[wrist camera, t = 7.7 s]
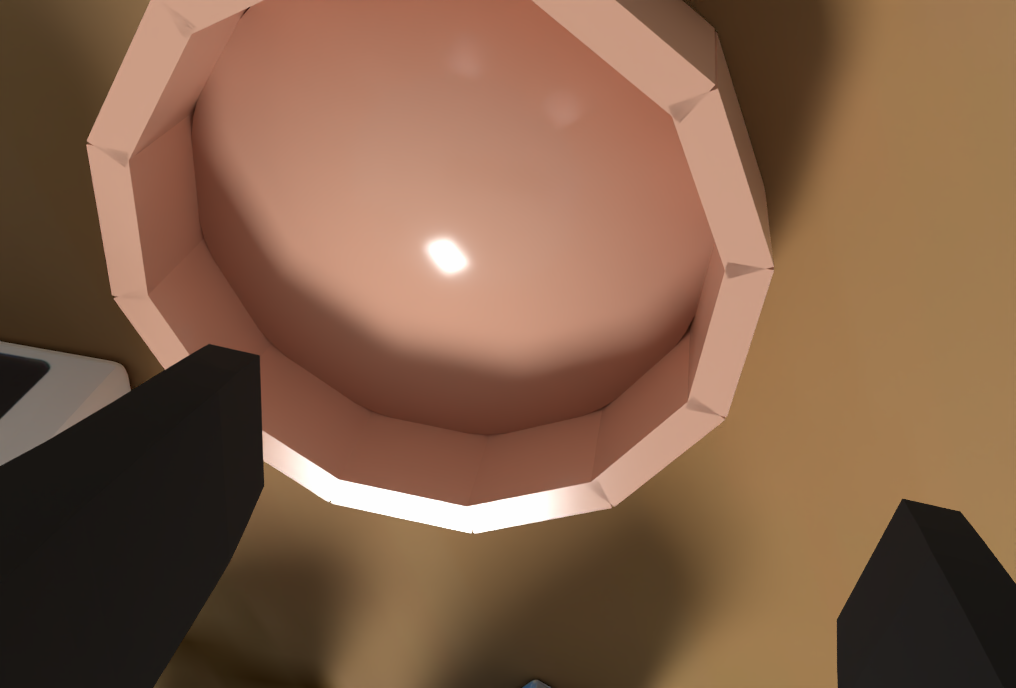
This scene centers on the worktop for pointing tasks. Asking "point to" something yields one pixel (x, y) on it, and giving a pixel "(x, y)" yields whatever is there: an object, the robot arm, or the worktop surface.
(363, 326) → the bowl
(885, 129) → the worktop surface
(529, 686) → the label tape box
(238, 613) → the worktop surface
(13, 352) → the container
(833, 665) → the worktop surface
